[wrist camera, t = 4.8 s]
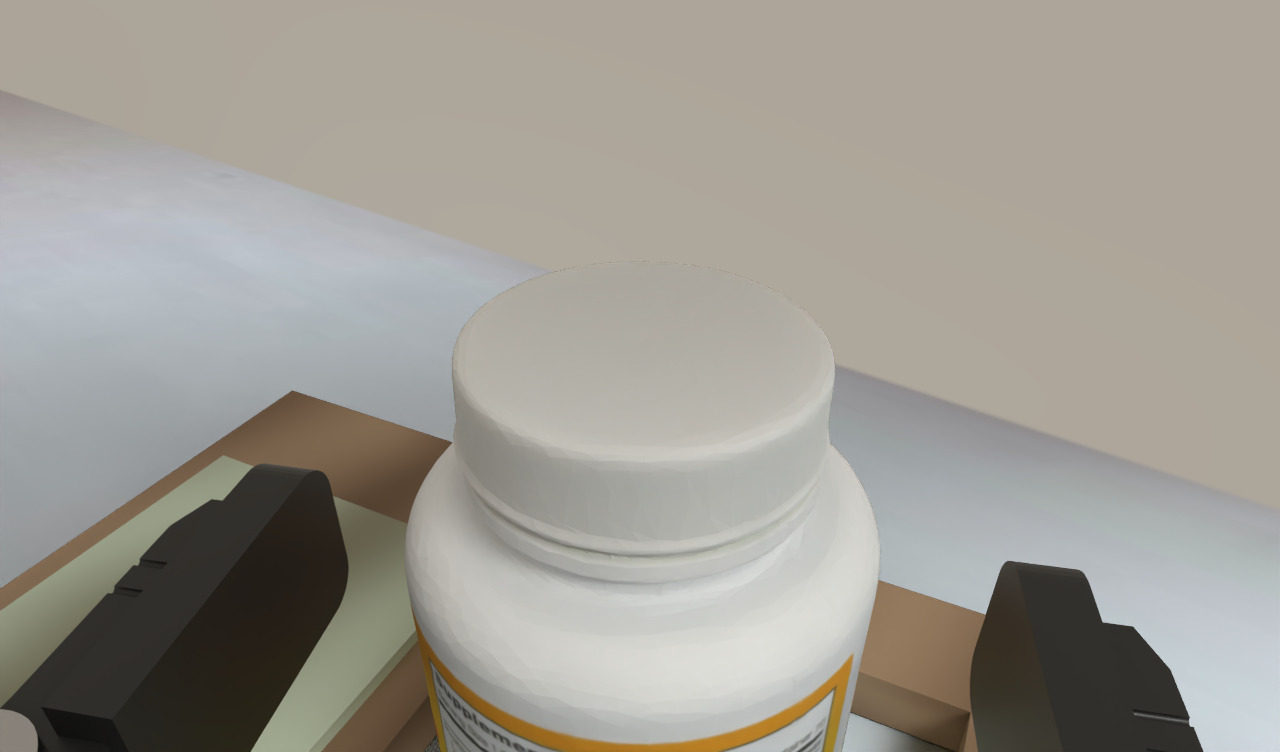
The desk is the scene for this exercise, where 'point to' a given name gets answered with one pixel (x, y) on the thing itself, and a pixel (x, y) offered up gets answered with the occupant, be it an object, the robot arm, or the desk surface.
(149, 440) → the desk surface
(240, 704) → the robot arm
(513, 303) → the supplement bottle
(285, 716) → the puzzle board
